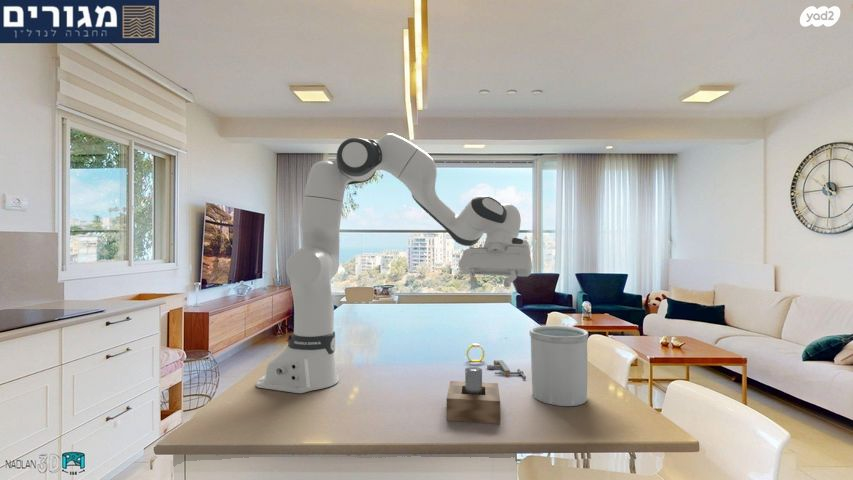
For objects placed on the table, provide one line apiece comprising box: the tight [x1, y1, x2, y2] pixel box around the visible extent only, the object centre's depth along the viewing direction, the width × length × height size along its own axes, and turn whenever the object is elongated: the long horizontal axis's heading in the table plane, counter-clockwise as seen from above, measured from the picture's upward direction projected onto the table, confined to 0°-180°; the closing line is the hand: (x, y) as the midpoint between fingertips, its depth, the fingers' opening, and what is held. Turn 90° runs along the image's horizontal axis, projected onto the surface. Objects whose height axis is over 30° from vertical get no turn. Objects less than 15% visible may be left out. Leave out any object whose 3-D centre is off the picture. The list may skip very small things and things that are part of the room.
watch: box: [466, 342, 485, 363], centre depth 140 cm, size 6×3×6 cm, turn 93°
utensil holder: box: [529, 324, 589, 407], centre depth 108 cm, size 15×15×18 cm
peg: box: [464, 366, 483, 395], centre depth 98 cm, size 4×4×10 cm
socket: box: [445, 380, 501, 425], centre depth 98 cm, size 12×12×5 cm
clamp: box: [486, 359, 527, 380], centre depth 128 cm, size 15×2×10 cm
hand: (489, 284), depth 109 cm, fingers open, 8 cm apart
